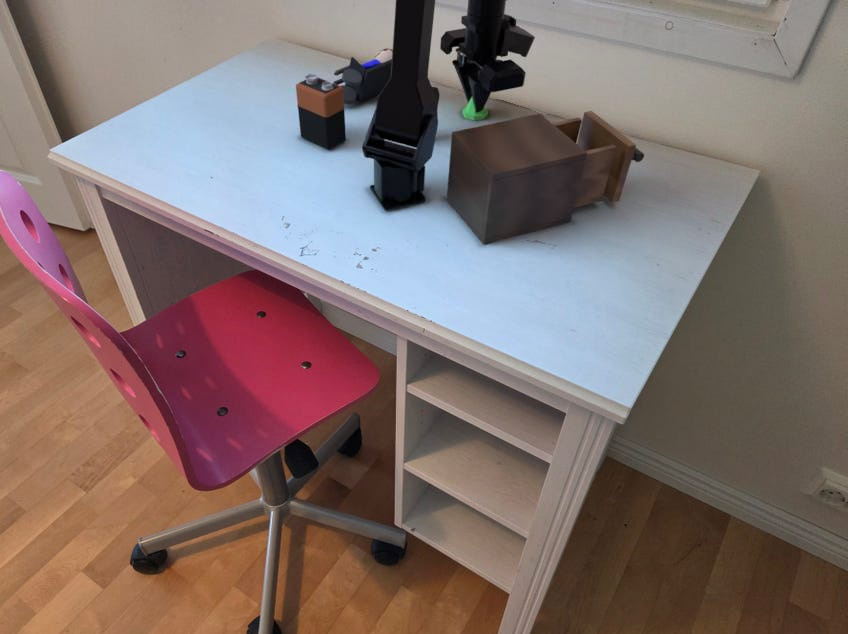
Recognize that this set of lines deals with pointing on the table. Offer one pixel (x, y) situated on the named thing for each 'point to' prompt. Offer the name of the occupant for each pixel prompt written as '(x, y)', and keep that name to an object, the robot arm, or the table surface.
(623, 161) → the drawer
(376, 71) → the character figurine
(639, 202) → the table surface
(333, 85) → the battery
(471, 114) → the game piece
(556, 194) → the cabinet
